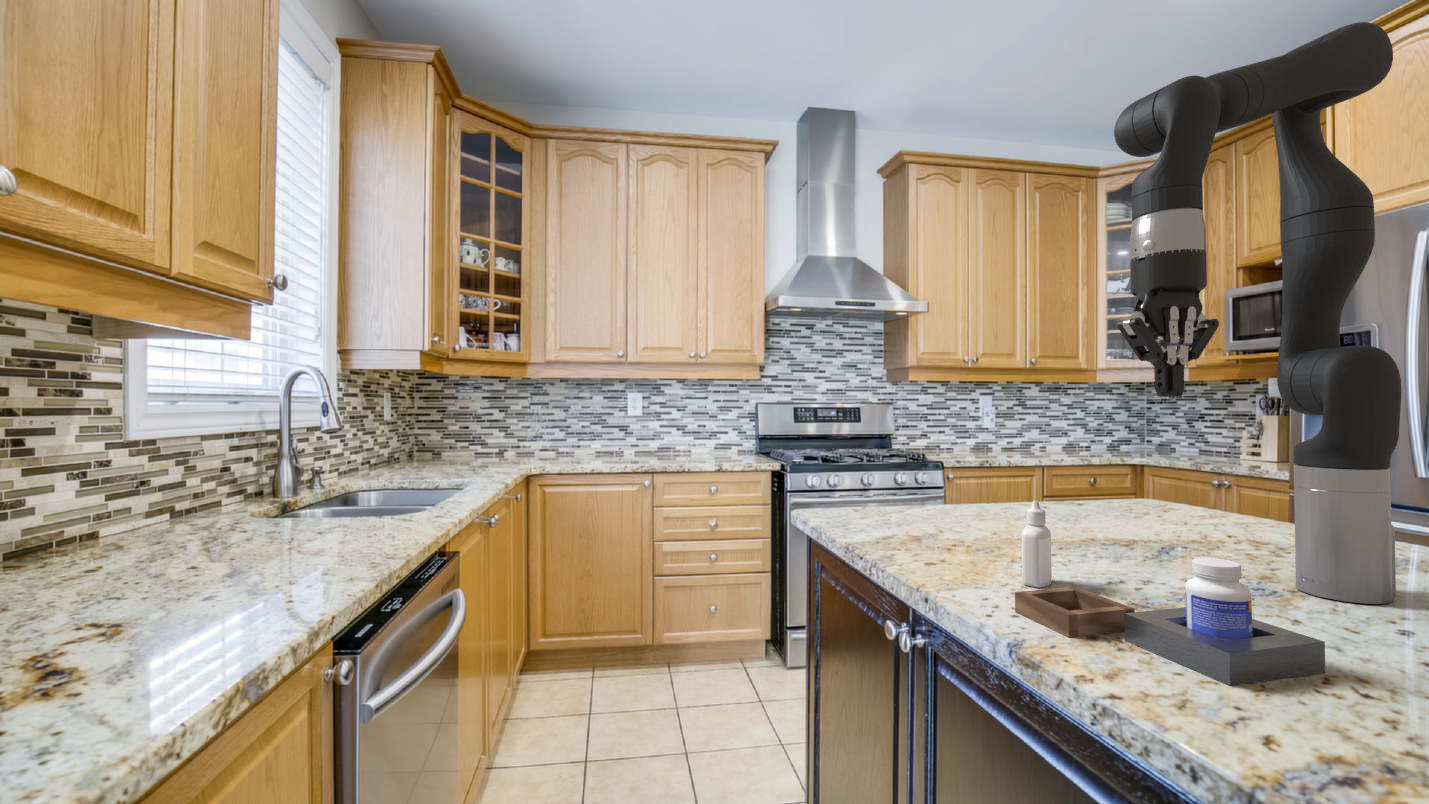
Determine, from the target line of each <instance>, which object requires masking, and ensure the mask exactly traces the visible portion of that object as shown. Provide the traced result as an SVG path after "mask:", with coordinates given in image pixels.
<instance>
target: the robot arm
mask: <svg viewBox="0 0 1429 804" xmlns="http://www.w3.org/2000/svg"><path fill="white" fill-rule="evenodd" d="M1393 49H1394V48H1393V45H1392V42H1391V39H1390V37H1389V35H1388V34H1387V32H1386V31H1385V29H1384V28H1382V27H1380V26H1379V25H1378V24H1375V23H1373V22H1368V21H1362V22H1361V21H1359V22H1355V23H1354V22H1353V23H1350V24H1347V25H1344V26H1341V27H1339V28H1336V29H1334V30H1333V31H1330V32H1327V33H1325V34H1323V35H1322V36H1319V37H1316V38H1315V39H1313V40H1311V41H1308V42H1307V43H1304V44H1303V45H1299V46H1298V47H1296V48H1294V49H1292V50H1290V51H1288V52H1286V53H1284V54H1282V55H1279V56H1276V57H1272V58H1268V59H1264V60H1260V61H1258V62H1254V63H1251V64H1247V65H1243V66H1239V67H1235V68H1231V69H1228V70H1224V71H1221V72H1217V73H1214V74H1210V75H1209V76H1208V75H1207V76H1205V77H1204V76H1200V75H1189V76H1184V77H1182V78H1181V77H1180V78H1179V79H1177V80H1175V81H1173V82H1171V83H1169V84H1167V85H1165V86H1163V87H1161V88H1159V89H1157V90H1155V91H1153V92H1151V93H1149V94H1148V95H1146V96H1143V97H1141V98H1139V99H1136V100H1135V101H1134V102H1132V103H1131V104H1129V105H1128V106H1127V107H1126V108H1124V110H1122V111H1121V113H1120V115H1119V116H1118V118H1117V119H1116V122H1115V125H1114V129H1113V131H1114V132H1113V133H1114V134H1113V136H1114V140H1115V143H1116V145H1117V146H1118V148H1119V149H1120V150H1121V151H1122V152H1124V153H1125V154H1127V155H1129V156H1131V157H1135V158H1146V157H1151V156H1155V155H1156V154H1159V157H1158V158H1157V159H1156V160H1155V162H1153V164H1151V165H1150V166H1149V167H1147V168H1146V169H1144V170H1142V171H1141V172H1140V173H1139V174H1138V175H1136V177H1135V178H1134V179H1133V181H1132V185H1131V231H1130V236H1129V258H1130V259H1129V265H1130V266H1129V269H1130V270H1129V271H1130V294H1131V295H1132V296H1133V297H1136V300H1135V303H1134V305H1133V313H1132V314H1131V315H1130V316H1129V317H1128V318H1126V319H1120V320H1119V321H1118V322H1117V324H1116V325H1117V328H1118V330H1119V331H1120V333H1121V334H1122V336H1123V338H1124V339H1125V340H1126V341H1127V343H1128V344H1129V346H1130V347H1131V350H1132V351H1133V352H1134V353H1135V356H1136V357H1137V358H1138V360H1139V361H1140V362H1148V363H1149V364H1150V365H1151V366H1153V369H1154V372H1153V373H1154V390H1155V392H1156V396H1157V397H1159V398H1166V397H1169V398H1172V397H1173V398H1178V397H1181V396H1183V394H1184V390H1185V366H1186V365H1187V364H1188V362H1191V361H1193V360H1198V359H1199V358H1200V357H1201V356H1202V353H1204V350H1205V349H1206V347H1207V345H1208V344H1209V342H1210V341H1211V339H1212V338H1213V336H1214V335H1215V333H1216V331H1217V329H1218V328H1219V326H1220V322H1219V320H1218V319H1217V318H1211V319H1209V318H1208V317H1207V316H1206V315H1204V314H1203V303H1202V302H1201V299H1200V292H1201V291H1203V290H1204V289H1206V287H1207V285H1208V277H1207V275H1208V271H1207V268H1208V266H1207V262H1208V261H1207V227H1206V222H1205V218H1204V194H1203V193H1204V191H1203V189H1204V187H1203V178H1204V173H1205V170H1206V166H1207V164H1208V162H1209V161H1208V160H1209V157H1210V153H1211V150H1212V146H1213V143H1214V140H1215V138H1216V137H1215V136H1216V134H1218V133H1222V132H1224V131H1227V130H1231V129H1234V128H1238V127H1241V126H1243V125H1247V124H1250V123H1252V122H1254V121H1255V122H1256V121H1257V120H1260V119H1262V118H1265V117H1266V116H1269V115H1271V120H1272V126H1273V132H1274V139H1275V146H1276V151H1277V153H1276V154H1277V159H1278V160H1277V162H1278V175H1279V176H1278V178H1279V195H1280V196H1279V197H1280V198H1279V199H1280V200H1279V201H1280V202H1279V203H1280V205H1279V207H1280V209H1279V210H1280V211H1279V215H1280V216H1279V228H1280V229H1279V232H1280V236H1279V237H1280V252H1281V262H1282V263H1281V264H1282V265H1281V266H1282V285H1281V286H1282V288H1281V289H1282V314H1281V315H1282V316H1281V326H1280V327H1281V328H1280V329H1281V330H1280V338H1279V339H1280V340H1279V349H1278V359H1277V369H1276V370H1277V371H1276V382H1277V388H1278V392H1279V395H1280V397H1281V399H1282V401H1283V403H1284V404H1285V405H1286V407H1288V408H1289V409H1291V410H1292V411H1293V412H1296V413H1299V414H1301V415H1302V414H1303V415H1309V416H1311V415H1312V416H1322V422H1321V428H1320V430H1319V431H1318V433H1316V435H1314V436H1313V437H1311V438H1309V439H1307V440H1304V441H1301V442H1298V443H1297V444H1296V445H1295V446H1294V447H1293V448H1294V449H1293V489H1294V490H1293V491H1294V493H1293V494H1294V501H1293V502H1294V547H1295V550H1294V551H1295V552H1294V553H1295V555H1294V556H1295V557H1294V559H1295V561H1294V562H1295V587H1296V589H1297V590H1299V591H1301V592H1303V593H1305V594H1309V595H1312V596H1316V597H1320V598H1325V599H1329V600H1333V601H1334V600H1335V601H1341V602H1348V603H1359V604H1369V605H1371V604H1372V605H1383V604H1390V603H1392V602H1393V601H1394V600H1393V598H1396V597H1397V590H1396V589H1397V584H1396V583H1397V582H1396V581H1397V580H1396V579H1397V578H1396V577H1397V576H1396V529H1395V526H1394V525H1393V524H1392V496H1391V495H1392V492H1391V490H1392V489H1391V459H1392V455H1393V454H1394V451H1395V450H1396V448H1397V445H1398V443H1399V439H1400V422H1401V421H1400V420H1401V406H1402V379H1401V374H1400V370H1399V367H1398V365H1397V363H1396V362H1395V359H1394V358H1393V357H1392V356H1391V355H1390V354H1389V353H1388V352H1386V351H1385V350H1384V349H1382V348H1379V347H1375V346H1371V345H1349V346H1347V345H1346V346H1341V336H1340V335H1341V334H1340V333H1341V319H1342V313H1343V310H1344V307H1345V304H1346V302H1347V299H1348V298H1349V296H1350V294H1351V292H1352V290H1353V289H1354V287H1355V285H1356V284H1357V282H1358V280H1359V278H1360V276H1361V275H1362V273H1363V271H1364V269H1365V268H1366V266H1367V264H1368V262H1369V260H1370V258H1371V256H1372V252H1373V250H1374V247H1375V241H1376V229H1375V226H1376V225H1375V223H1376V222H1375V204H1374V203H1375V202H1374V196H1373V194H1372V191H1371V190H1370V189H1369V187H1368V185H1367V184H1366V183H1365V182H1364V181H1363V180H1362V179H1361V178H1360V177H1359V176H1358V175H1357V174H1356V173H1355V172H1354V171H1352V170H1351V169H1350V168H1349V166H1347V165H1345V164H1344V163H1343V162H1342V161H1341V160H1339V159H1338V158H1337V156H1336V155H1334V154H1333V153H1332V151H1331V150H1330V148H1329V147H1328V146H1327V144H1326V142H1325V139H1324V138H1325V137H1324V135H1323V131H1322V125H1321V113H1322V112H1321V111H1322V110H1324V109H1328V108H1330V107H1333V106H1335V105H1339V104H1340V103H1343V102H1345V101H1348V100H1352V99H1354V98H1356V97H1359V96H1361V95H1363V94H1365V93H1367V92H1369V91H1370V90H1372V89H1374V88H1376V87H1377V86H1378V85H1379V84H1381V83H1382V82H1383V80H1385V79H1386V77H1387V76H1388V74H1389V73H1390V71H1391V69H1392V66H1393V63H1394V62H1393V61H1394V51H1393Z"/></svg>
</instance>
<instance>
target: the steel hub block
mask: <svg viewBox="0 0 1429 804" xmlns="http://www.w3.org/2000/svg"><path fill="white" fill-rule="evenodd" d="M1124 614H1125V631H1124V641H1125V642H1128V643H1130V644H1131V645H1135V646H1136V647H1139V648H1140V649H1144V650H1146V651H1148V652H1150V653H1152V654H1153V653H1154V654H1155V655H1158V656H1160V657H1162V658H1164V659H1167V660H1169V661H1172V662H1174V663H1177V664H1178V665H1181V666H1184V667H1185V668H1188V669H1190V670H1193V671H1194V672H1195V671H1196V672H1198V673H1200V674H1202V675H1203V676H1206V677H1209V678H1212V679H1213V680H1216V681H1218V682H1221V683H1223V684H1225V685H1228V686H1238V685H1245V684H1246V685H1247V684H1253V683H1258V682H1259V683H1260V682H1267V681H1275V680H1280V679H1281V680H1282V679H1289V678H1290V679H1291V678H1297V677H1303V676H1305V677H1306V676H1311V675H1318V674H1325V673H1326V642H1325V641H1324V640H1320V639H1317V638H1314V637H1312V636H1311V637H1310V636H1308V635H1305V634H1303V633H1302V634H1301V633H1299V632H1295V631H1292V630H1288V629H1285V628H1282V627H1279V626H1276V625H1273V624H1270V623H1267V622H1264V621H1261V620H1258V619H1254V618H1252V634H1253V638H1246V639H1238V640H1229V641H1223V640H1220V639H1217V638H1214V637H1212V636H1209V635H1206V634H1203V633H1201V632H1198V631H1195V630H1193V629H1190V628H1187V620H1186V606H1183V607H1175V608H1163V609H1155V610H1146V611H1144V610H1143V611H1135V612H1133V613H1124Z"/></svg>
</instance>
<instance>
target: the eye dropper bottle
mask: <svg viewBox="0 0 1429 804" xmlns="http://www.w3.org/2000/svg"><path fill="white" fill-rule="evenodd" d="M1026 523H1027V525H1026V526H1025V527H1024V528H1023V529H1022V531H1021V532H1022V533H1021V565H1022V566H1021V570H1022V571H1021V574H1022V575H1021V576H1022V577H1021V578H1022V580H1021V581H1022V584H1023V585H1025V586H1027V587H1031V588H1032V587H1033V588H1040V589H1041V588H1044V587H1047V586H1049V585H1051V583H1052V577H1053V576H1052V534H1051V531H1050V529H1049V527H1047V526H1045V525H1046V511H1045V510H1044V509H1042V508H1041V505H1040V501H1038V500H1033V501H1032V505H1031V507H1030V508H1028V509H1026Z"/></svg>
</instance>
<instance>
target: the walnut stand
mask: <svg viewBox="0 0 1429 804" xmlns="http://www.w3.org/2000/svg"><path fill="white" fill-rule="evenodd" d="M1014 612H1015V613H1017V614H1018V615H1020V616H1023V617H1025V618H1028V620H1031V621H1033V622H1036V623H1038V624H1040V625H1041V626H1045V627H1046V628H1048V629H1050V630H1053V631H1055V632H1056V633H1059V634H1061V635H1063V636H1066V637H1067V638H1075V637H1084V636H1092V635H1094V636H1095V635H1103V634H1112V633H1121V632H1125V614H1124V613H1133V612H1136V611H1135V607H1131V606H1129V605H1126V604H1123V603H1120V602H1118V601H1115V600H1112V599H1109V598H1107V597H1105V596H1101V595H1099V594H1096V593H1093V592H1090V591H1088V590H1085V589H1082V588H1079V587H1077V586H1069V587H1067V586H1066V587H1059V588H1058V587H1057V588H1045V589H1036V590H1035V589H1034V590H1024V591H1023V590H1022V591H1014Z"/></svg>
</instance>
